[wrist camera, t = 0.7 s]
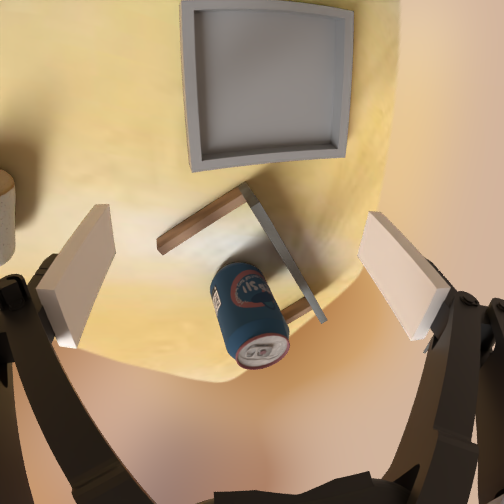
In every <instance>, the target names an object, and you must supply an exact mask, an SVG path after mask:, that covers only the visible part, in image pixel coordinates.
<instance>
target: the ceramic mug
mask: <svg viewBox="0 0 504 504" xmlns="http://www.w3.org/2000/svg"><path fill="white" fill-rule="evenodd" d="M15 199H16V192H15V183H14V180H13V178H12V176H11V175H10V174H9V173H7V172H6V171H3V170H1V169H0V266H1V265H3V264H5V263H6V262H7V261H8V260H9V259H10V258H11V257H12V255H13V254H14V251H15Z"/></svg>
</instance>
